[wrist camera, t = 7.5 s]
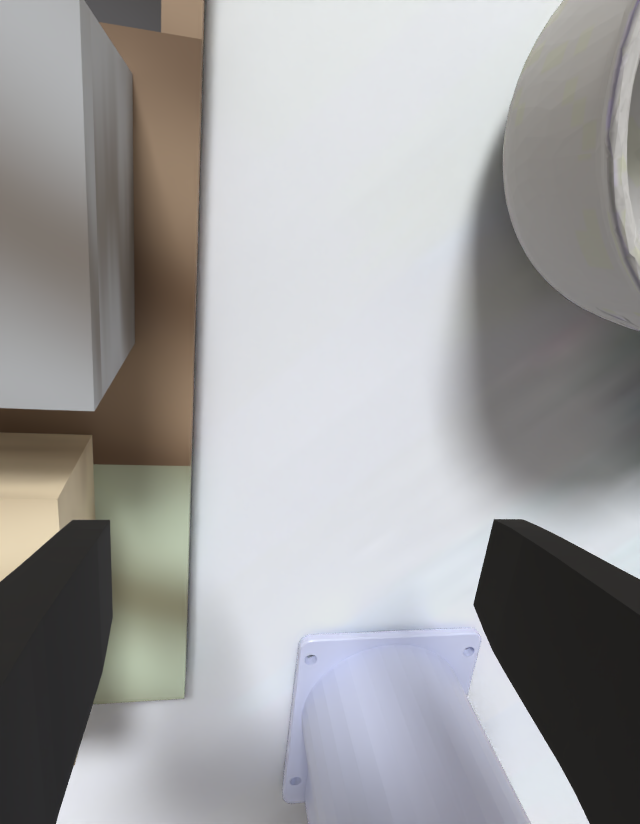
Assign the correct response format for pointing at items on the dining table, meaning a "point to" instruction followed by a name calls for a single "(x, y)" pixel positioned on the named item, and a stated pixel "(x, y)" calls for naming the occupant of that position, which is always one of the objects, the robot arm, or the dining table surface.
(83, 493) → the maple bar
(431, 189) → the dining table surface
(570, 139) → the teacup
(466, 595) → the dining table surface
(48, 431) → the tunnel deck
